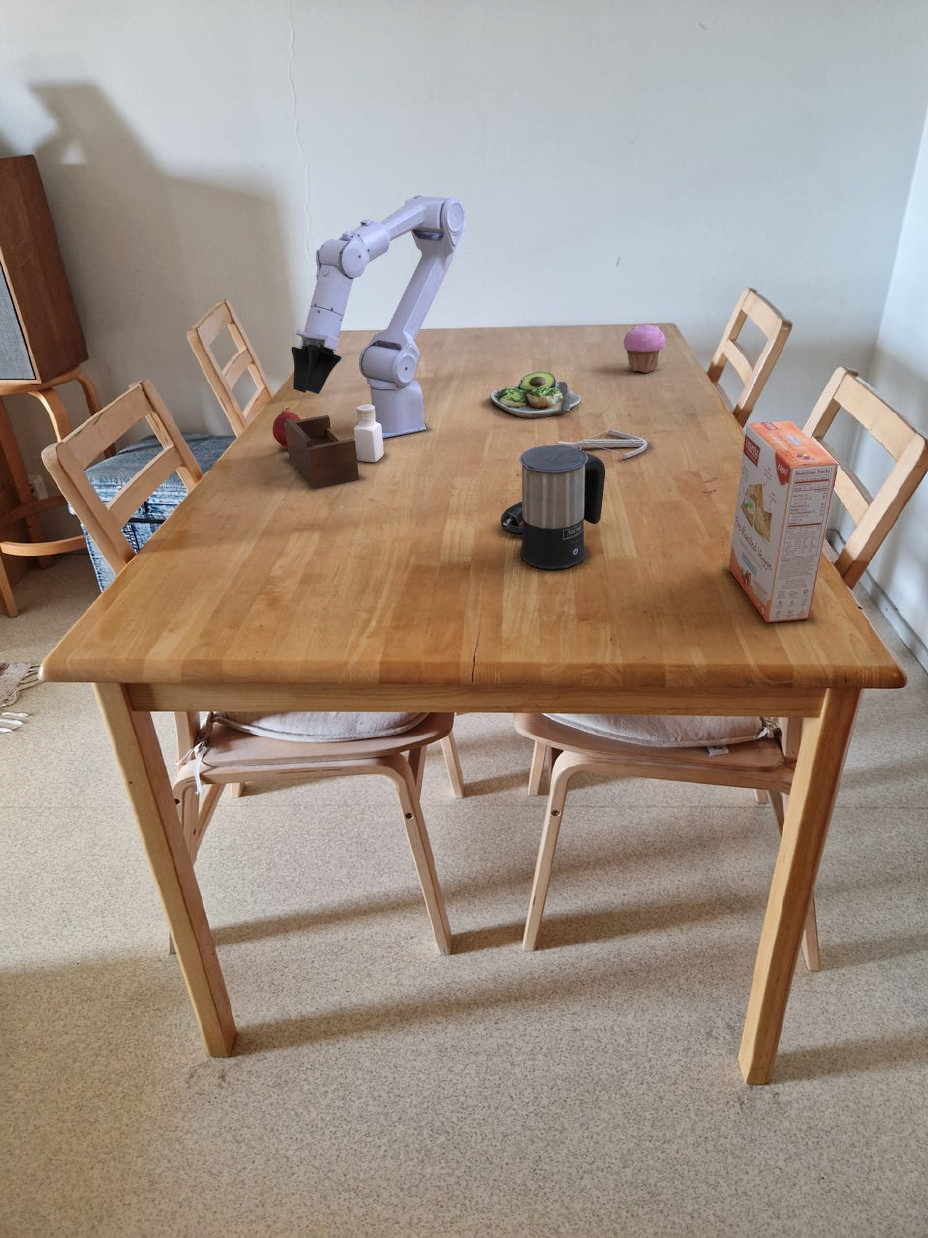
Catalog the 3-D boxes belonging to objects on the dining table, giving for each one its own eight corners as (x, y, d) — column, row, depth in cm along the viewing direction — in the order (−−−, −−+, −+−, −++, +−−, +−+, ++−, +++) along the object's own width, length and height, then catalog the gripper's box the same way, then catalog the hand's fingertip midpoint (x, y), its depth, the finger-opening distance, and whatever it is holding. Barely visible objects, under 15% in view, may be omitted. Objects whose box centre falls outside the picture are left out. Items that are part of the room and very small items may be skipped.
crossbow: (637, 437, 167) (638, 426, 166) (654, 463, 156) (655, 451, 155) (552, 437, 165) (553, 426, 164) (563, 463, 155) (564, 451, 154)
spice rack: (331, 451, 164) (326, 409, 160) (359, 479, 153) (354, 434, 149) (289, 459, 162) (283, 417, 157) (314, 488, 150) (308, 443, 146)
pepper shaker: (385, 455, 162) (380, 404, 157) (376, 463, 158) (371, 411, 153) (365, 453, 163) (359, 402, 158) (355, 461, 160) (350, 409, 155)
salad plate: (603, 412, 177) (604, 389, 174) (522, 427, 171) (522, 404, 169) (557, 386, 192) (557, 364, 190) (481, 399, 186) (480, 377, 184)
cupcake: (668, 368, 200) (672, 322, 195) (653, 378, 194) (657, 331, 189) (631, 363, 204) (634, 318, 199) (615, 373, 198) (618, 327, 193)
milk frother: (566, 577, 121) (569, 474, 113) (467, 551, 129) (464, 454, 121) (610, 535, 131) (615, 439, 124) (516, 514, 139) (515, 421, 131)
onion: (300, 455, 163) (294, 413, 159) (270, 454, 164) (264, 412, 160) (311, 444, 168) (305, 402, 164) (282, 443, 169) (276, 401, 165)
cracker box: (724, 570, 121) (744, 421, 110) (768, 566, 122) (792, 418, 110) (763, 625, 109) (789, 464, 98) (811, 621, 110) (842, 460, 99)
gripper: (292, 306, 155) (272, 383, 157) (318, 301, 143) (296, 384, 145) (329, 320, 159) (309, 395, 161) (358, 316, 146) (336, 398, 148)
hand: (305, 391), depth 153 cm, fingers open, 7 cm apart
